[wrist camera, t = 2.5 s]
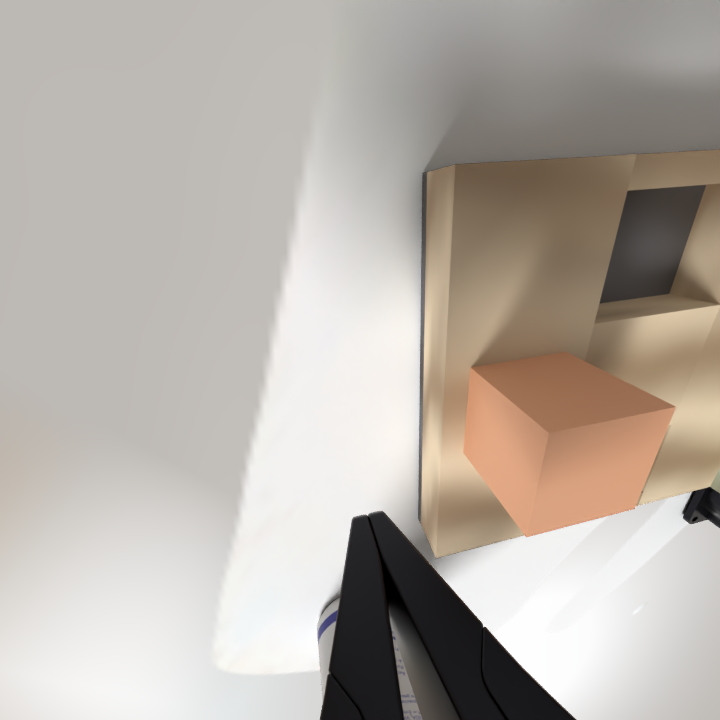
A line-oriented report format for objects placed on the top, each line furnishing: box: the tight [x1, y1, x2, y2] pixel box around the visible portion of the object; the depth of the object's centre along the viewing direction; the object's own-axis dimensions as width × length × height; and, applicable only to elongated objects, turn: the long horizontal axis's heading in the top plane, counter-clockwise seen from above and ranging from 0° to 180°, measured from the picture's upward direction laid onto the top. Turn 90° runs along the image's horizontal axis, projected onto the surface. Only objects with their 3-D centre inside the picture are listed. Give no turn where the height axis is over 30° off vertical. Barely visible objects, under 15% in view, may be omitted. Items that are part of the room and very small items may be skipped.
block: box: [463, 352, 676, 537], centre depth 11 cm, size 4×4×4 cm
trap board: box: [418, 149, 720, 558], centre depth 14 cm, size 17×18×5 cm
